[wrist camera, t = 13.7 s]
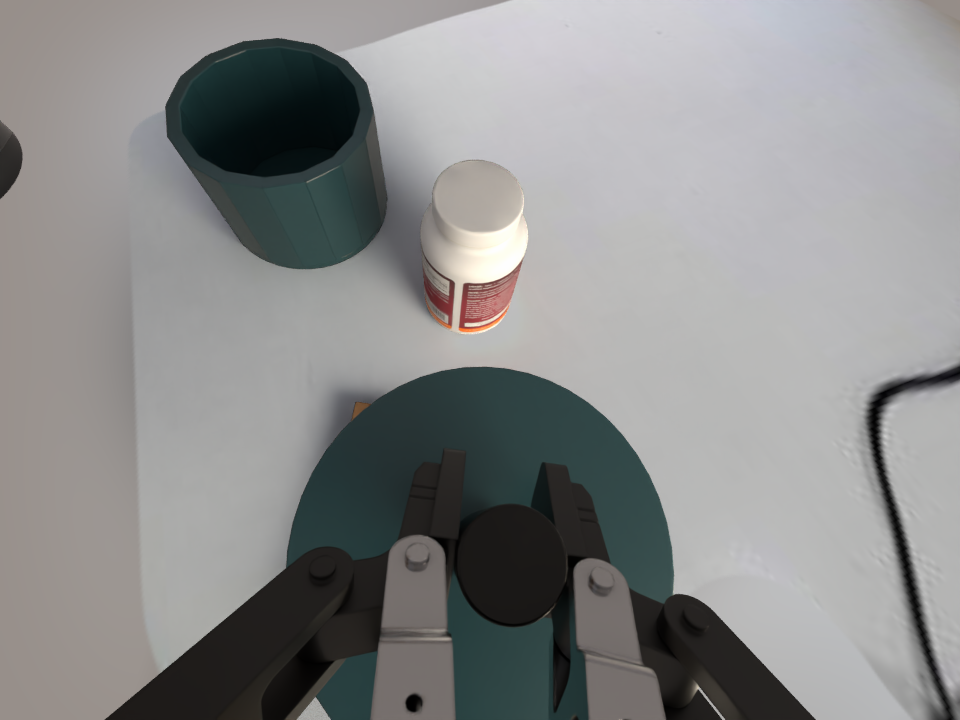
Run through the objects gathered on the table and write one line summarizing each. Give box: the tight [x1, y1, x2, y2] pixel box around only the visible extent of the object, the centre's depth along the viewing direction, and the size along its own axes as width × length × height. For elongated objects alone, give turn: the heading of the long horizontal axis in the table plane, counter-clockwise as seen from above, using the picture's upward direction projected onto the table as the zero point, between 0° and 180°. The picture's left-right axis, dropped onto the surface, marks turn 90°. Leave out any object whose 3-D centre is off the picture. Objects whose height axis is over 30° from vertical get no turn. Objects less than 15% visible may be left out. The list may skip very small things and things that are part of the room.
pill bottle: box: [420, 160, 528, 334], centre depth 28 cm, size 6×6×11 cm
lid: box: [286, 367, 674, 720], centre depth 12 cm, size 13×13×7 cm
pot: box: [165, 38, 387, 269], centre depth 30 cm, size 12×12×8 cm
